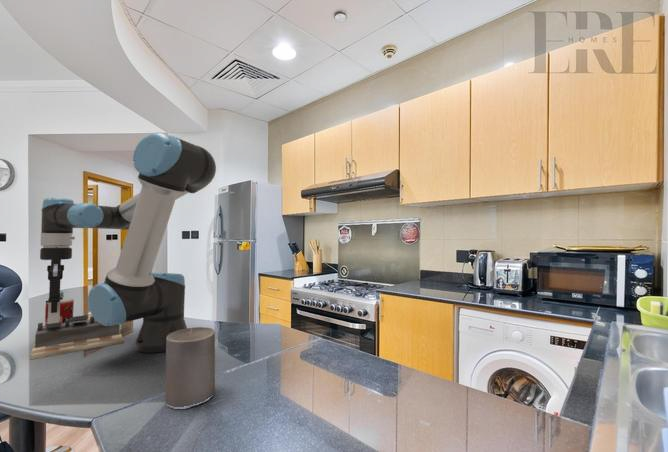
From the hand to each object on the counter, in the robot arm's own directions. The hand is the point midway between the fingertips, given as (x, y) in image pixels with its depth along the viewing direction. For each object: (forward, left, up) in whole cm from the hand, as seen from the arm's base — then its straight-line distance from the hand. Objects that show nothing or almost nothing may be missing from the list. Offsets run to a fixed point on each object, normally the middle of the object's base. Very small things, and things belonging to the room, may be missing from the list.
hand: (53, 322), depth 98 cm
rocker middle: (-3, -7, -1) cm, 8 cm away
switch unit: (-5, -4, -8) cm, 10 cm away
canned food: (+13, -21, -8) cm, 26 cm away
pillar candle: (-53, +37, -8) cm, 65 cm away
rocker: (+2, -3, -1) cm, 4 cm away
